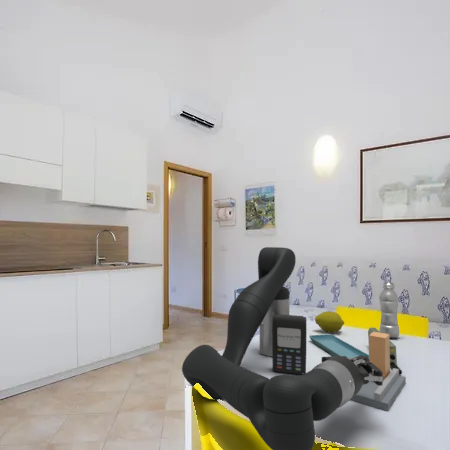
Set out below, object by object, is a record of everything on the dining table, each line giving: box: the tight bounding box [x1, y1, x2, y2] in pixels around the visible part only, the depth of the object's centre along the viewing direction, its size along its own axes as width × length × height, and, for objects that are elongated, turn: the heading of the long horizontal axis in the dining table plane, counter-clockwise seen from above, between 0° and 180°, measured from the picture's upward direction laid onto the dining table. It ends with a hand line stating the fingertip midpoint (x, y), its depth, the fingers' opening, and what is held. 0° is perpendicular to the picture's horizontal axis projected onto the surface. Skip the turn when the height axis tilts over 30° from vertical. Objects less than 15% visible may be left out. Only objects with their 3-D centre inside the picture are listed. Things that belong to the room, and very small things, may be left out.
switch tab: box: [368, 331, 391, 381], centre depth 83 cm, size 5×4×10 cm
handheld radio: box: [367, 327, 403, 375], centre depth 100 cm, size 7×3×25 cm
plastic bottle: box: [378, 282, 400, 339], centre depth 124 cm, size 6×7×20 cm
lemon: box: [314, 310, 345, 334], centre depth 130 cm, size 11×8×8 cm
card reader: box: [271, 314, 307, 376], centre depth 90 cm, size 9×4×15 cm, turn 75°
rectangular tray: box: [308, 333, 369, 359], centre depth 106 cm, size 26×9×2 cm, turn 13°
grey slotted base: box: [349, 368, 407, 412], centre depth 80 cm, size 18×10×3 cm, turn 141°
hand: (364, 360), depth 74 cm, fingers closed
